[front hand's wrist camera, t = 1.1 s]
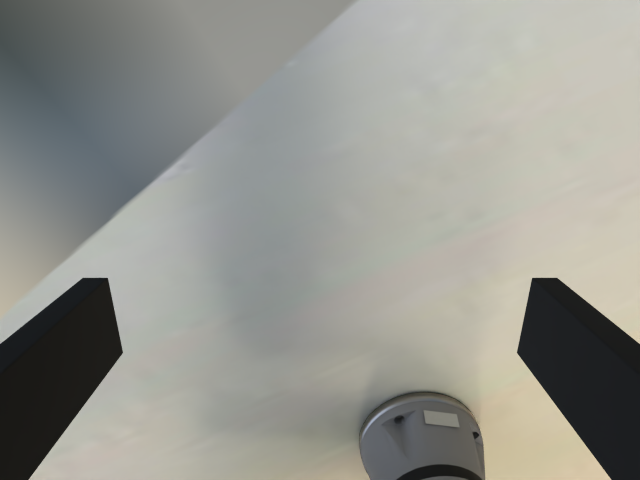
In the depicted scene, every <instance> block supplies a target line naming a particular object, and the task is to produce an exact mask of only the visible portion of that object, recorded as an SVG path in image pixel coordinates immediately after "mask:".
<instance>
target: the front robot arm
mask: <svg viewBox="0 0 640 480" xmlns="http://www.w3.org/2000/svg"><path fill="white" fill-rule="evenodd" d="M122 353H123V351H122V346H121V341H120V336H119V331H118V326H117V321H116V316H115V311H114V306H113V302H112V297H111V292H110V287H109V282H108V278H82V279H81V280H80V281H79V282H77V283H76V284H75V285H74V286H72V287H71V288H70V289H69V290H67V291H66V292H65V293H64V294H62V295H61V296H60V297H59V298H57V299H56V300H55V301H54V302H52V303H51V304H50V305H49V306H47V307H46V308H45V309H44V310H42V311H41V312H40V313H39V314H37V315H36V316H35V317H34V318H32V319H31V320H30V321H29V322H27V323H26V324H25V325H24V326H22V327H21V328H20V329H19V330H17V331H16V332H15V333H14V334H12V335H11V336H10V337H9V338H7V339H6V340H5V341H4V342H2V343H1V344H0V480H29V478H30V477H31V475H32V474H33V473H34V471H35V470H36V469H37V467H38V466H39V465H40V463H41V462H42V461H43V459H44V458H45V457H46V455H47V454H48V453H49V451H50V450H51V449H52V447H53V446H54V445H55V443H56V442H57V441H58V439H59V438H60V437H61V435H62V434H63V433H64V431H65V430H66V429H67V427H68V426H69V424H70V423H71V422H72V420H73V419H74V418H75V416H76V415H77V414H78V412H79V411H80V410H81V408H82V407H83V406H84V404H85V403H86V402H87V400H88V399H89V398H90V396H91V395H92V394H93V392H94V391H95V390H96V388H97V387H98V386H99V384H100V383H101V382H102V380H103V379H104V378H105V376H106V375H107V373H108V372H109V371H110V369H111V368H112V367H113V365H114V364H115V363H116V361H117V360H118V359H119V357H120V356H121V355H122ZM517 353H518V355H519V356H520V357H521V359H522V360H523V361H524V363H525V364H526V365H527V367H528V368H529V369H530V371H531V372H532V373H533V375H534V376H535V378H536V379H537V380H538V382H539V383H540V384H541V386H542V387H543V388H544V390H545V391H546V392H547V394H548V395H549V396H550V398H551V399H552V400H553V402H554V403H555V404H556V406H557V407H558V408H559V410H560V411H561V412H562V414H563V415H564V416H565V418H566V419H567V420H568V422H569V423H570V424H571V426H572V427H573V429H574V430H575V431H576V433H577V434H578V435H579V437H580V438H581V439H582V441H583V442H584V443H585V445H586V446H587V447H588V449H589V450H590V451H591V453H592V454H593V455H594V457H595V458H596V459H597V461H598V462H599V463H600V465H601V466H602V467H603V469H604V470H605V471H606V473H607V474H608V476H609V477H610V478H611V480H640V344H639V343H638V342H636V341H635V340H634V339H633V338H631V337H630V336H629V335H628V334H626V333H625V332H624V331H623V330H621V329H620V328H619V327H618V326H616V325H615V324H614V323H613V322H611V321H610V320H609V319H608V318H606V317H605V316H604V315H603V314H601V313H600V312H599V311H598V310H596V309H595V308H594V307H593V306H591V305H590V304H589V303H588V302H586V301H585V300H584V299H583V298H581V297H580V296H579V295H578V294H576V293H575V292H574V291H573V290H571V289H570V288H569V287H568V286H566V285H565V284H564V283H563V282H561V281H560V280H559V279H558V278H532V282H531V287H530V292H529V297H528V302H527V306H526V311H525V316H524V321H523V326H522V331H521V336H520V341H519V346H518V351H517ZM359 443H360V453H361V458H362V461H363V465H364V467H365V470H366V472H367V473H368V475H369V477H370V479H371V480H485V465H484V449H483V440H482V436H481V432H480V429H479V427H478V425H477V422H476V420H475V418H474V416H473V415H472V413H471V412H470V411H469V409H468V408H467V407H465V406H464V405H463V404H462V403H460V402H459V401H457V400H455V399H453V398H451V397H448V396H445V395H441V394H436V393H425V392H421V393H411V394H406V395H402V396H399V397H396V398H393V399H391V400H389V401H387V402H385V403H384V404H382V405H381V406H379V407H378V408H377V409H375V410H374V411H373V412H372V413H371V414H370V415H369V417H368V418H367V419H366V421H365V422H364V424H363V426H362V429H361V432H360V438H359Z"/></svg>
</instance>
